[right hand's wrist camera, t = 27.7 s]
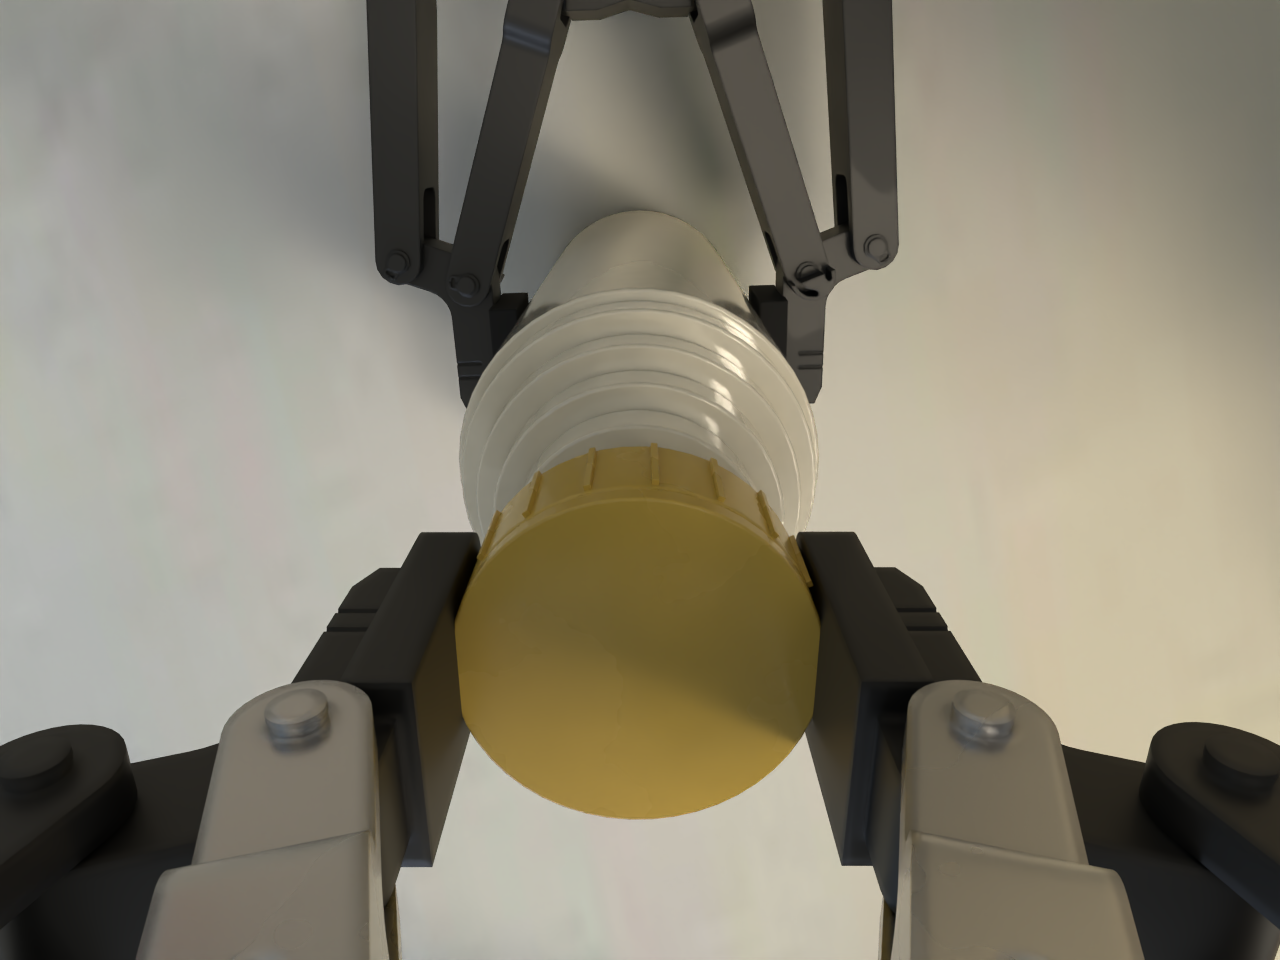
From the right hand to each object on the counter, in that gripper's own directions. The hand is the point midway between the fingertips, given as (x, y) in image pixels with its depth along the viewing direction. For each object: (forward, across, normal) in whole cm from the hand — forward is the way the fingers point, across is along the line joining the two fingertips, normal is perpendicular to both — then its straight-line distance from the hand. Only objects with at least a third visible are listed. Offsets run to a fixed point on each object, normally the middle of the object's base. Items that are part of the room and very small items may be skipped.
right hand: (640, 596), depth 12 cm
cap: (-2, 0, 0) cm, 2 cm away
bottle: (+22, 0, 0) cm, 22 cm away
